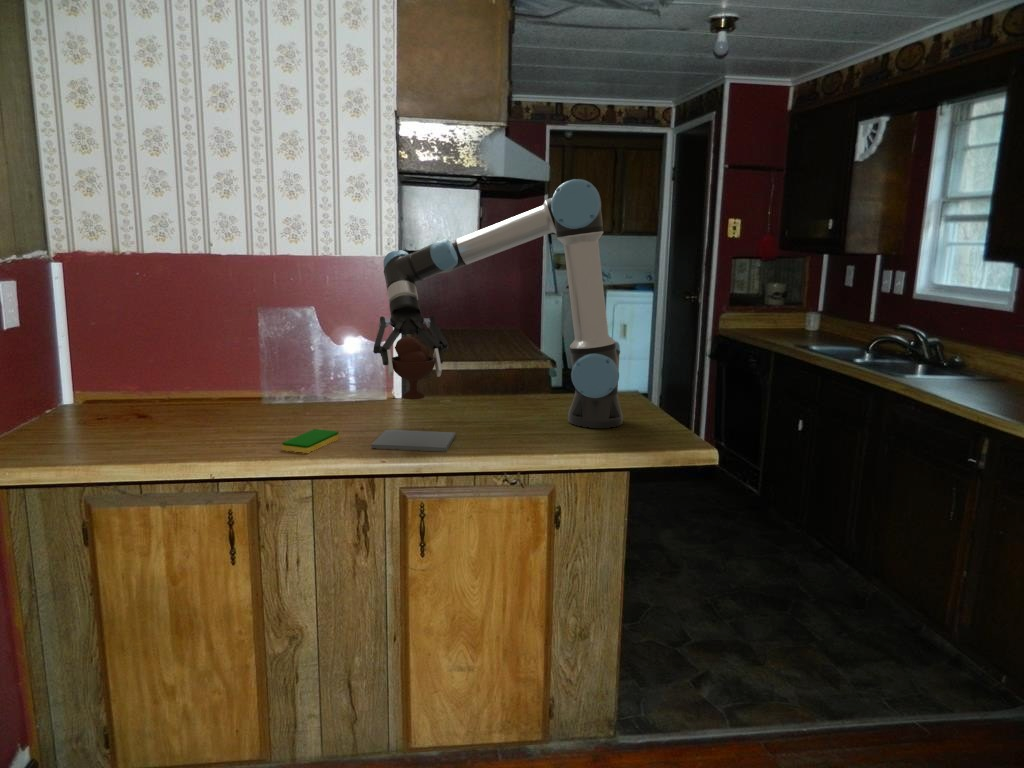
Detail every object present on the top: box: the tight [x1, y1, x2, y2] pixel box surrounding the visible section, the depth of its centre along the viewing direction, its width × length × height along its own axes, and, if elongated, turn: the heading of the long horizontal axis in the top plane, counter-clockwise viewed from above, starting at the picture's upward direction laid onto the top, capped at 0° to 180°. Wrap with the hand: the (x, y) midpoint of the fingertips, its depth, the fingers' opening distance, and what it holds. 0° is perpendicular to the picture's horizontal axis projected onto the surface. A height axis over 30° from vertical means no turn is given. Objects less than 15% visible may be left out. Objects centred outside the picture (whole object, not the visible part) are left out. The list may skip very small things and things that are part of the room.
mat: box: [370, 429, 456, 453], centre depth 184 cm, size 18×14×1 cm
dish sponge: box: [281, 428, 340, 454], centre depth 180 cm, size 7×14×2 cm, turn 162°
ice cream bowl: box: [391, 335, 435, 400], centre depth 180 cm, size 11×11×15 cm
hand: (415, 374), depth 178 cm, fingers closed on ice cream bowl, 11 cm apart
